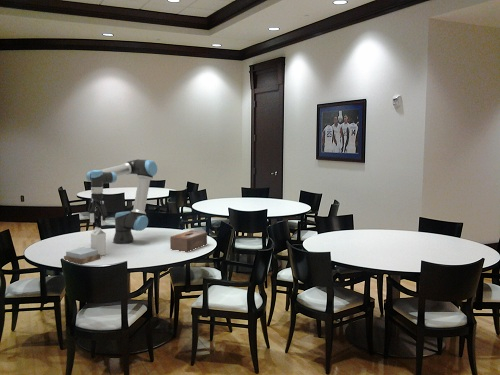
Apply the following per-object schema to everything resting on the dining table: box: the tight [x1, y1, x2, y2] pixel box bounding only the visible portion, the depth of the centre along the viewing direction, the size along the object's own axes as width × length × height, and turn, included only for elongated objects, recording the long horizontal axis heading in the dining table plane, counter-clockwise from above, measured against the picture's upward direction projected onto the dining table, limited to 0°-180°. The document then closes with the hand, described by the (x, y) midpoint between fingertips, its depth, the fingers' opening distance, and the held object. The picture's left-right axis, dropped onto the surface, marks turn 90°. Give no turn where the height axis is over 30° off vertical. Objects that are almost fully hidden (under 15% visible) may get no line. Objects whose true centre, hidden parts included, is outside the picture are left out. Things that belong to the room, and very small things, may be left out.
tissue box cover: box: [169, 230, 208, 253], centre depth 339 cm, size 26×14×10 cm, turn 152°
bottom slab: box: [63, 254, 101, 265], centre depth 303 cm, size 16×16×3 cm
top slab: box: [65, 246, 98, 259], centre depth 302 cm, size 14×14×3 cm
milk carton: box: [90, 226, 107, 257], centre depth 314 cm, size 7×7×19 cm
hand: (97, 224), depth 313 cm, fingers open, 13 cm apart
